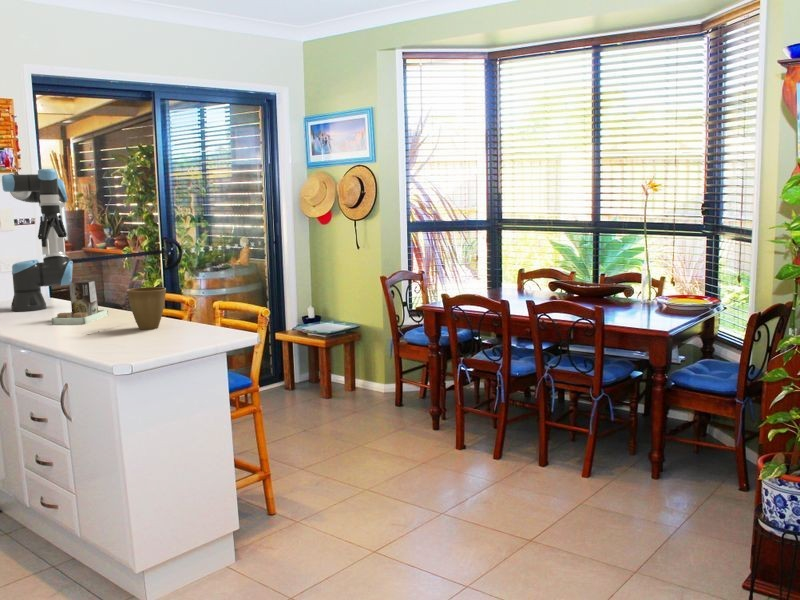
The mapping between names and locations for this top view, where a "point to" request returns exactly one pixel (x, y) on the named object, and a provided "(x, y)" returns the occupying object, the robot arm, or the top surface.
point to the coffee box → (83, 297)
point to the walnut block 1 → (63, 315)
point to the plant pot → (147, 305)
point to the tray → (80, 320)
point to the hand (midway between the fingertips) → (54, 253)
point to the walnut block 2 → (80, 315)
